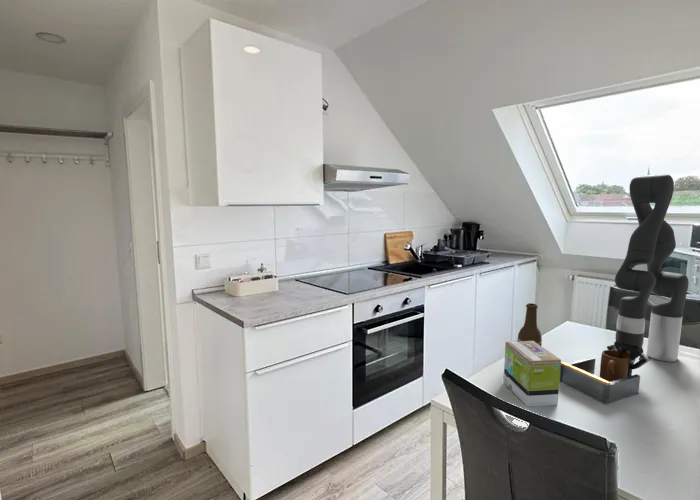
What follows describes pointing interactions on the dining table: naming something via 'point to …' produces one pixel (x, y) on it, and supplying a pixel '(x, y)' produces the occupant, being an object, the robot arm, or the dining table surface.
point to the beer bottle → (530, 326)
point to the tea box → (532, 373)
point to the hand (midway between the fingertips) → (625, 377)
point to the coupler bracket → (597, 382)
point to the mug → (613, 365)
